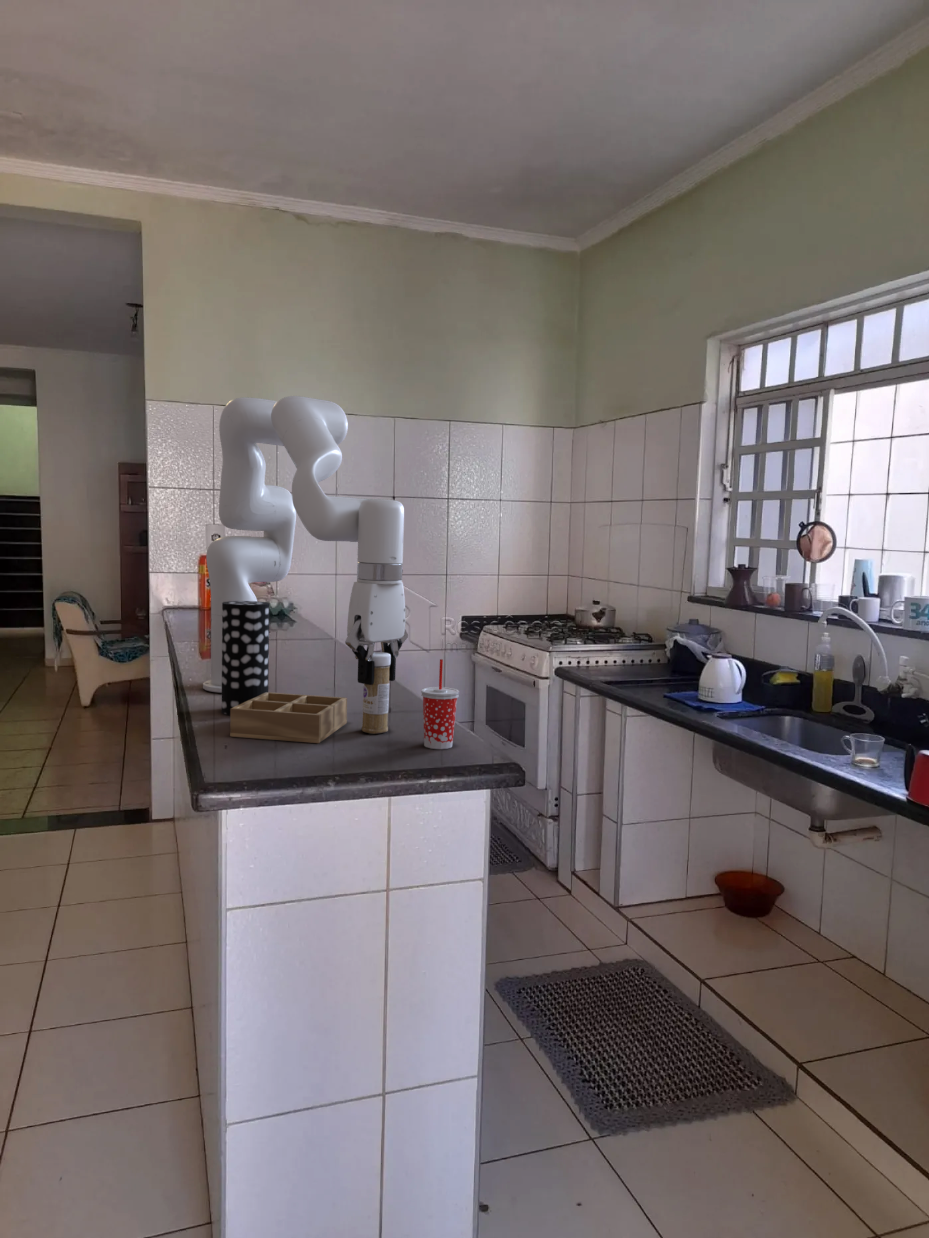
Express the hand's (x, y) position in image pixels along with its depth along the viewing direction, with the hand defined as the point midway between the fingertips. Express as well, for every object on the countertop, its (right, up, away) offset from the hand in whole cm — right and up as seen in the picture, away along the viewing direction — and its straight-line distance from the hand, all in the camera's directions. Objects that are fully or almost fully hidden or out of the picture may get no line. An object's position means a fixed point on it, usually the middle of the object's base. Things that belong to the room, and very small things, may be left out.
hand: (376, 680), depth 146 cm
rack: (-14, -8, 0) cm, 17 cm away
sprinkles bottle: (0, -9, +1) cm, 9 cm away
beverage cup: (+11, -10, -7) cm, 16 cm away
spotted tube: (-26, -7, +13) cm, 29 cm away
